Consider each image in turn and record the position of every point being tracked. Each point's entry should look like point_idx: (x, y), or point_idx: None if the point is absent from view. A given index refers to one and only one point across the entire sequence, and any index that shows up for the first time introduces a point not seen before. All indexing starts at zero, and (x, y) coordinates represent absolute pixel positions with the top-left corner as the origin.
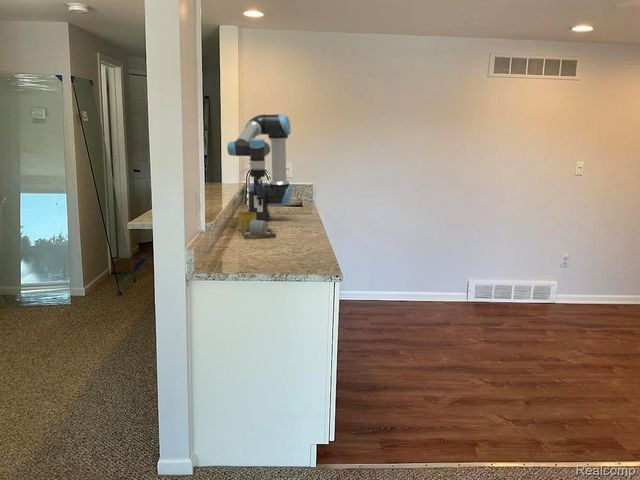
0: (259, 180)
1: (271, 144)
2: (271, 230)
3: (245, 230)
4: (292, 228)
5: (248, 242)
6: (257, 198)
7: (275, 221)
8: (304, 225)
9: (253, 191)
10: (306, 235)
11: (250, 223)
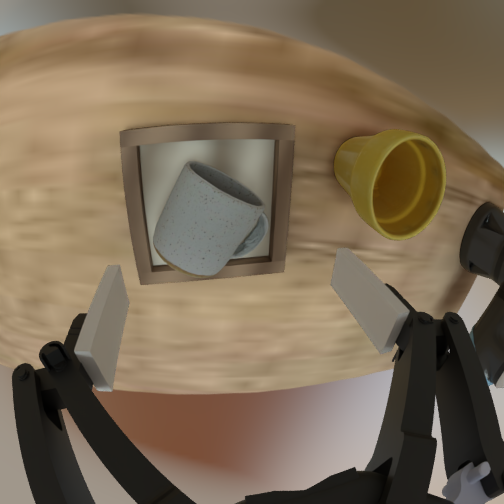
0: None
1: None
2: (235, 272)
3: (278, 143)
4: (336, 330)
5: (51, 153)
6: (48, 359)
7: (448, 280)
8: (365, 353)
9: (460, 327)
10: (196, 365)
11: (189, 176)
